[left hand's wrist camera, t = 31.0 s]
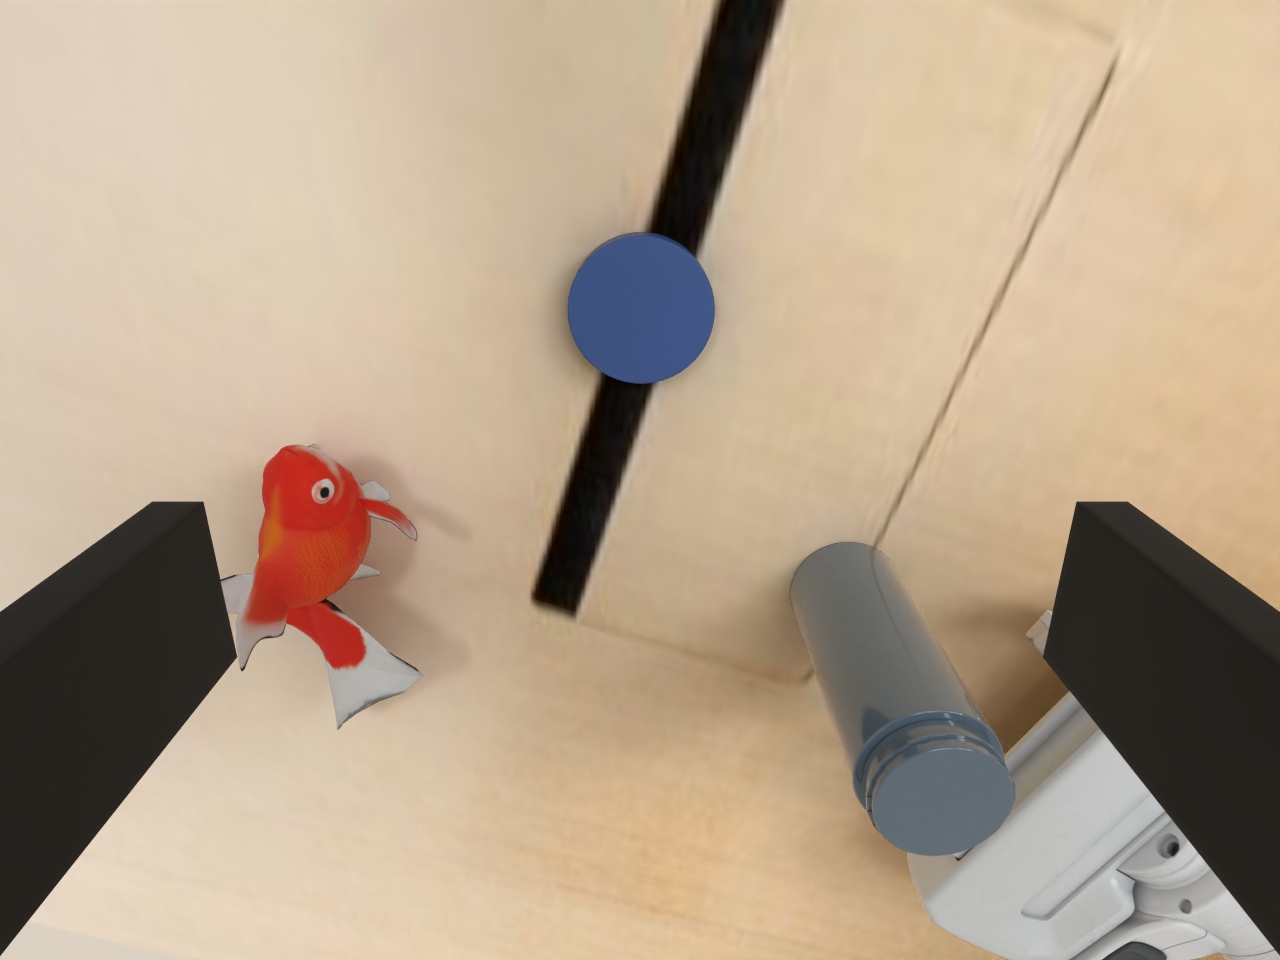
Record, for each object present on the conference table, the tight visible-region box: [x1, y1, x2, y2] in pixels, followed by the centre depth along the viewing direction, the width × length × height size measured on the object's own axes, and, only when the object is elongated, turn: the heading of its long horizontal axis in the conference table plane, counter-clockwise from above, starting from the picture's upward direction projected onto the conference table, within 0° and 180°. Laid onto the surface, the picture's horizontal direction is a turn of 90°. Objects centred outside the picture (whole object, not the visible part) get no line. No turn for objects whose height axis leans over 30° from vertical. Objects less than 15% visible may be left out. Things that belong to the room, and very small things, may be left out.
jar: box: [791, 542, 1015, 856], centre depth 35 cm, size 5×5×15 cm
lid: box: [568, 232, 715, 383], centre depth 35 cm, size 6×6×2 cm
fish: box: [221, 444, 424, 730], centre depth 37 cm, size 11×16×10 cm
